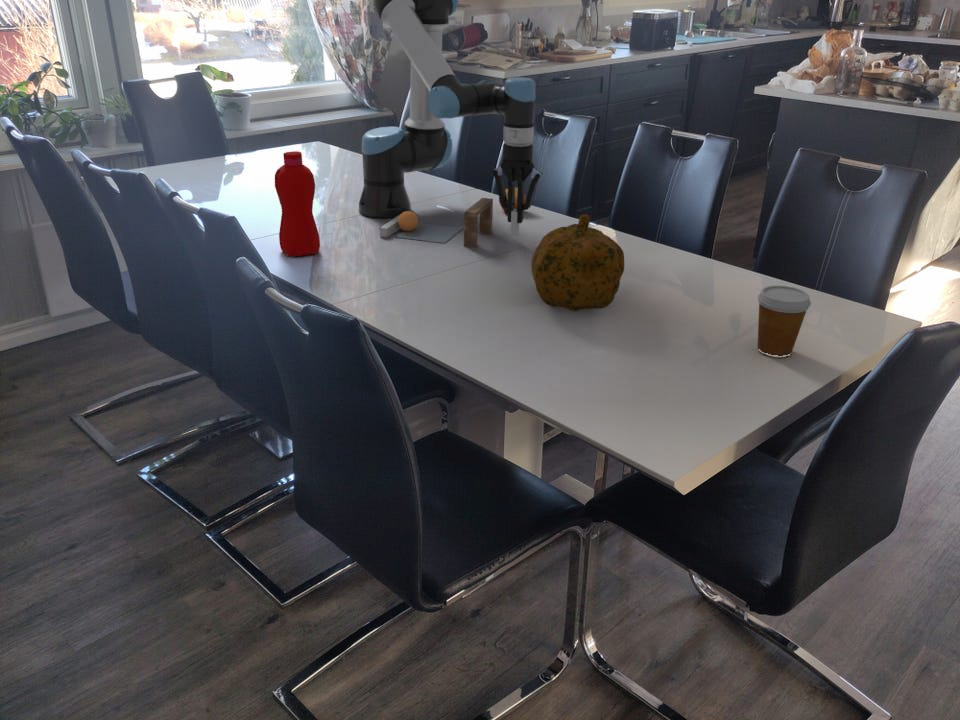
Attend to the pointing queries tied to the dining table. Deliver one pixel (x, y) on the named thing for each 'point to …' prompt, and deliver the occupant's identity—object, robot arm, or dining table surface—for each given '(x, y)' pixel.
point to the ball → (408, 221)
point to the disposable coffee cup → (780, 318)
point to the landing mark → (430, 233)
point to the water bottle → (296, 207)
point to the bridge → (471, 221)
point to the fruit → (515, 199)
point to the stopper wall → (389, 227)
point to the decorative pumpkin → (577, 267)
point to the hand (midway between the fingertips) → (514, 234)
